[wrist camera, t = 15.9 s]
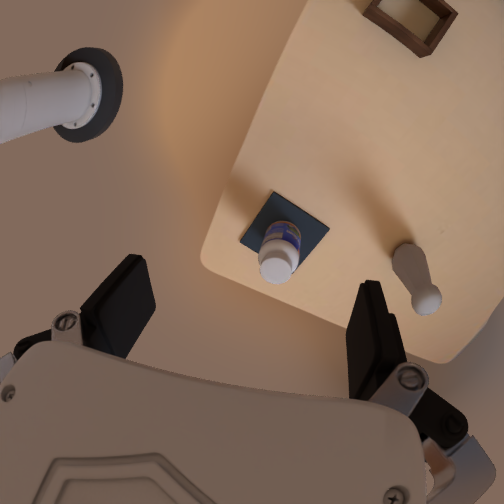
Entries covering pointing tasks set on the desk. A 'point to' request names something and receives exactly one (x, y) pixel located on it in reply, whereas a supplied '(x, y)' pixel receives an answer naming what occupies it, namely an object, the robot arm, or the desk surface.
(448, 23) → the caddy
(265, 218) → the mat
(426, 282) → the salt shaker
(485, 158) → the desk surface
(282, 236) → the pill bottle
